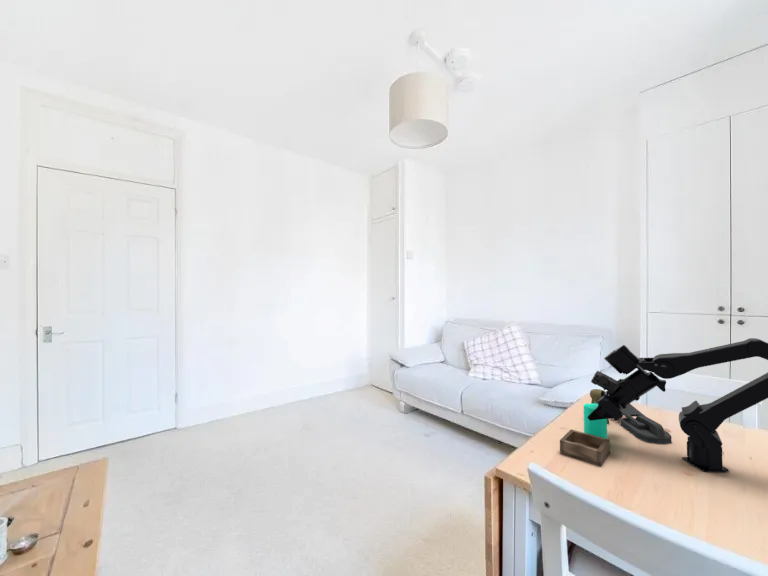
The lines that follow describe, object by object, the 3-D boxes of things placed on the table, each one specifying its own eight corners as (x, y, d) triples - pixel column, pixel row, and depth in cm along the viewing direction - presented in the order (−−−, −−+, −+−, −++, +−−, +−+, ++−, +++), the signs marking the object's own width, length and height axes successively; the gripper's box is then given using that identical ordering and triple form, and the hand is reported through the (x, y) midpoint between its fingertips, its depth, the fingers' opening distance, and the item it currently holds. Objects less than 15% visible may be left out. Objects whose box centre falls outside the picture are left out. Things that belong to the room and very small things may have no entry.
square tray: (610, 453, 94) (609, 439, 94) (601, 466, 87) (601, 452, 87) (571, 441, 101) (570, 429, 101) (560, 453, 94) (559, 440, 94)
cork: (610, 421, 116) (610, 389, 116) (607, 426, 111) (607, 393, 111) (590, 416, 120) (590, 386, 120) (586, 421, 115) (586, 390, 115)
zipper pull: (621, 395, 123) (677, 422, 98) (621, 413, 123) (677, 444, 98) (596, 395, 124) (646, 422, 99) (596, 412, 124) (646, 444, 99)
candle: (606, 438, 103) (606, 399, 103) (607, 446, 98) (606, 405, 98) (584, 434, 106) (583, 396, 106) (583, 441, 101) (583, 402, 101)
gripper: (612, 358, 107) (573, 387, 113) (606, 370, 92) (563, 402, 99) (643, 387, 102) (601, 415, 109) (643, 404, 87) (594, 435, 94)
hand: (589, 415), depth 103 cm, fingers closed on candle, 5 cm apart
